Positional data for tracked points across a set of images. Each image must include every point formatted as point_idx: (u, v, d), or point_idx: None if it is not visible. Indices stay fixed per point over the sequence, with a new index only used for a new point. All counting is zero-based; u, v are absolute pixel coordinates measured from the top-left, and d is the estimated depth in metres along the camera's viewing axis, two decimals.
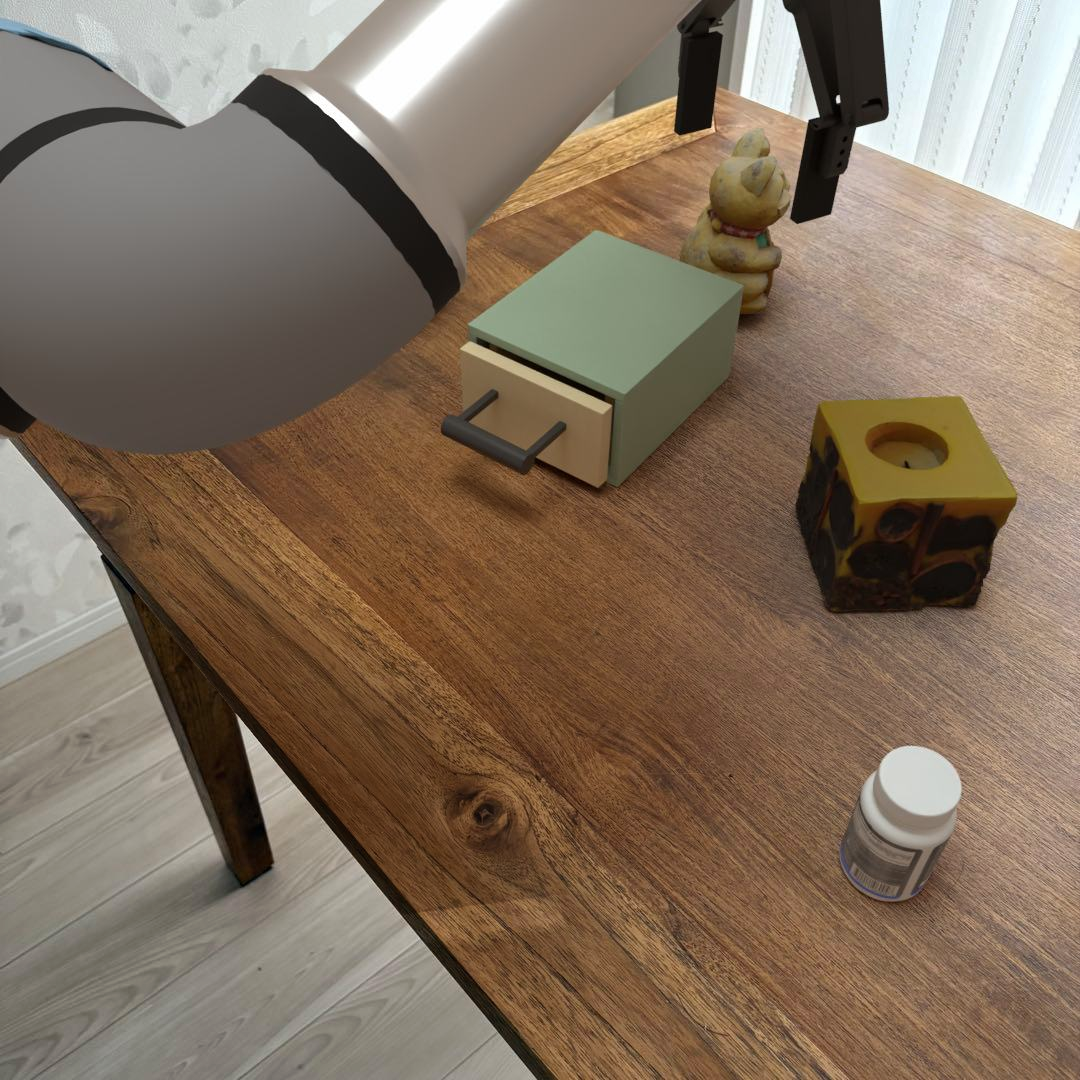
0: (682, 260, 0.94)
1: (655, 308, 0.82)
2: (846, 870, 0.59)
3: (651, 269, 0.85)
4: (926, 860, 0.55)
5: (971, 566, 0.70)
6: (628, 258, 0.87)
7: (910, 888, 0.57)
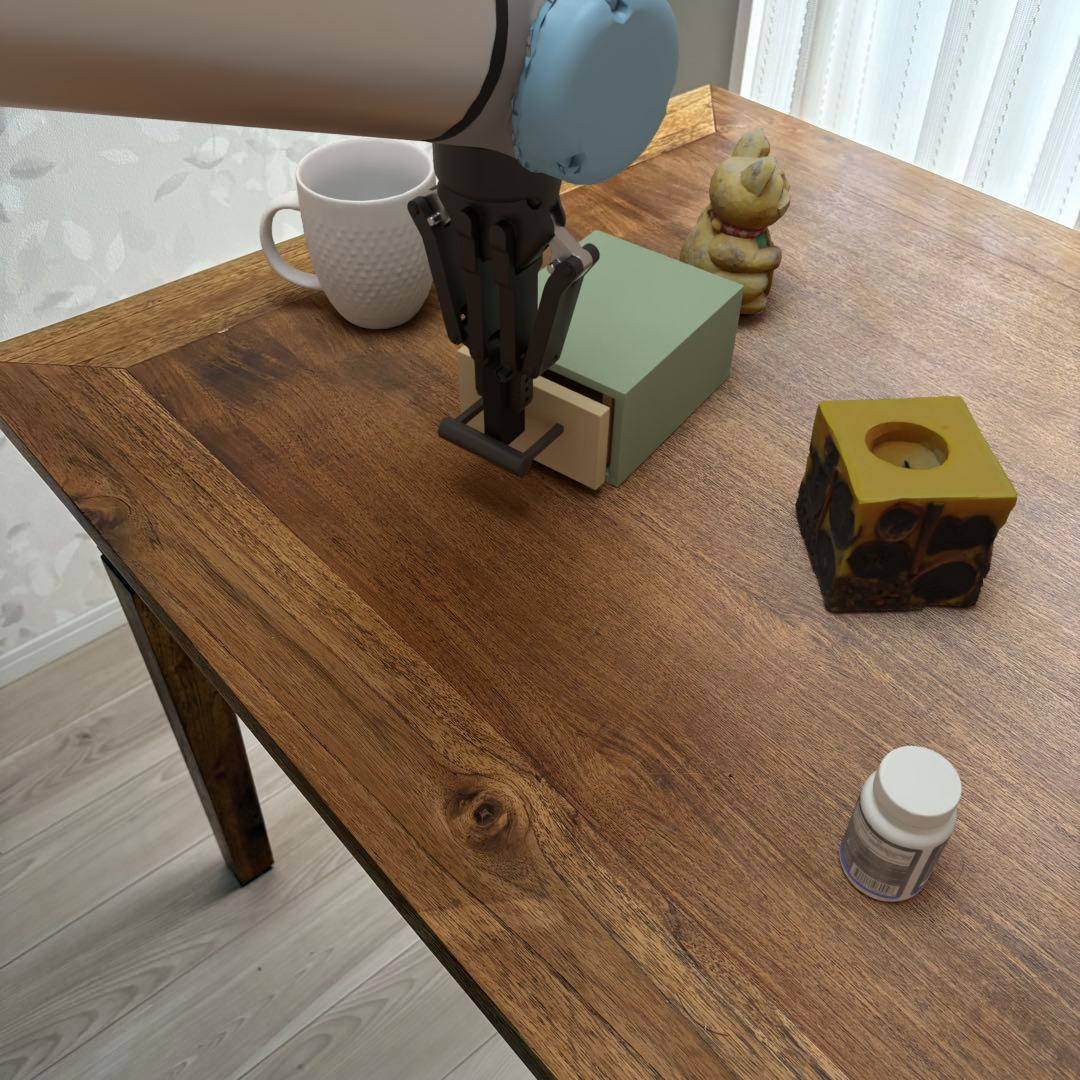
0: (682, 260, 0.94)
1: (655, 308, 0.82)
2: (846, 870, 0.59)
3: (651, 269, 0.85)
4: (926, 860, 0.55)
5: (972, 566, 0.70)
6: (628, 258, 0.87)
7: (910, 888, 0.57)
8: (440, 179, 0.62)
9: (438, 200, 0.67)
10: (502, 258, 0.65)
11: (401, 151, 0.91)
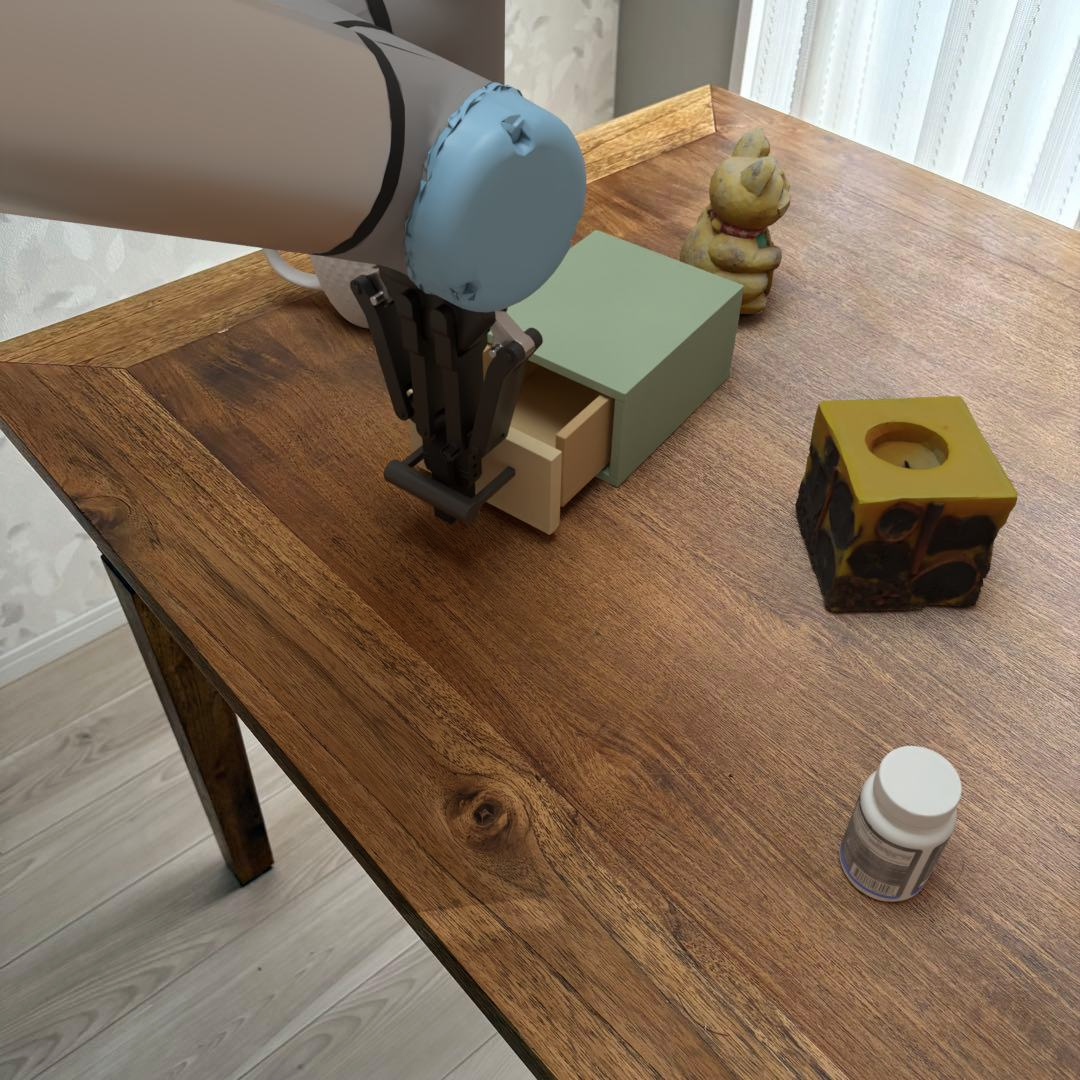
0: (682, 260, 0.94)
1: (655, 308, 0.82)
2: (846, 870, 0.59)
3: (651, 269, 0.85)
4: (926, 860, 0.55)
5: (972, 566, 0.70)
6: (628, 258, 0.87)
7: (910, 888, 0.57)
8: (378, 265, 0.61)
9: (381, 280, 0.66)
10: (444, 341, 0.64)
11: None
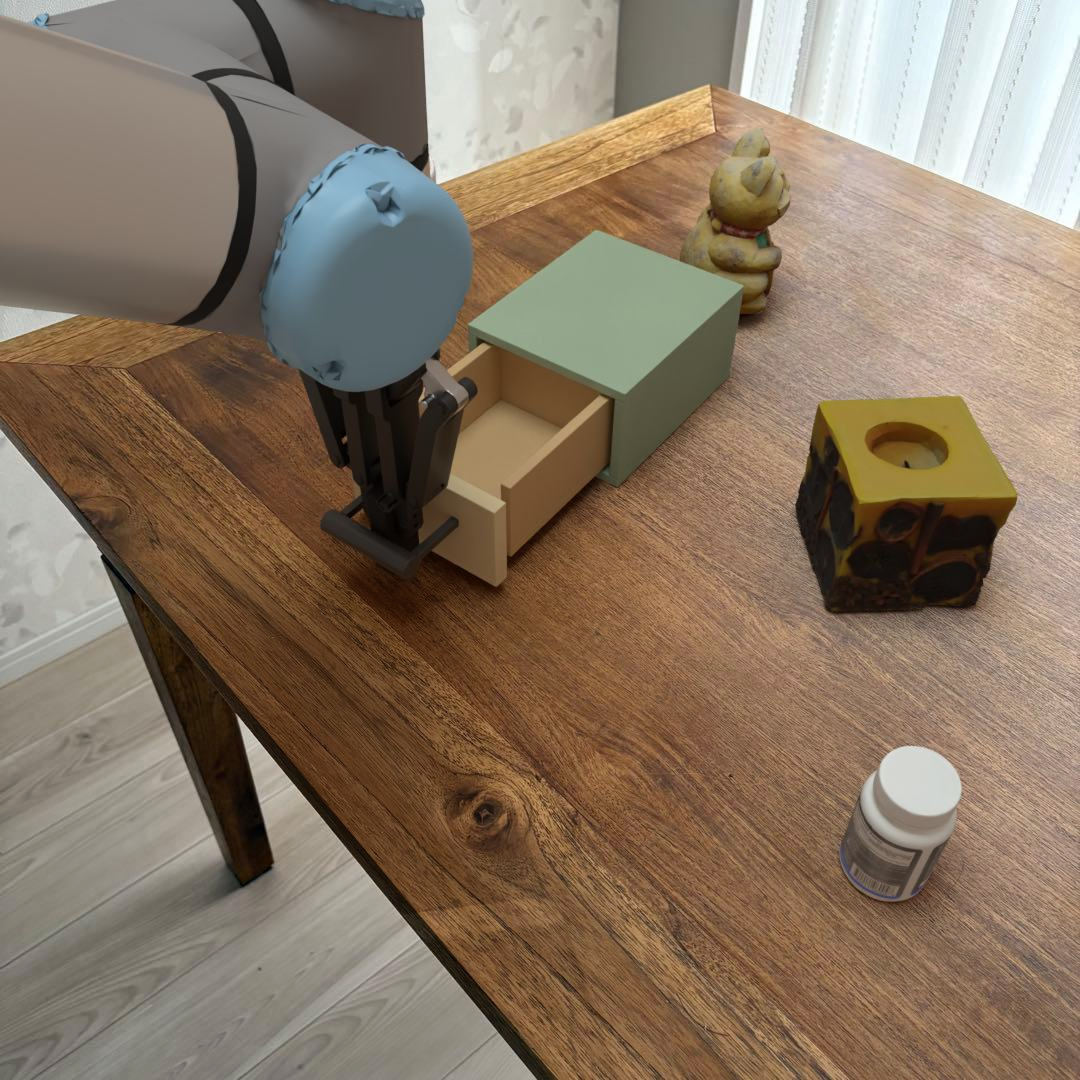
0: (682, 260, 0.94)
1: (655, 308, 0.82)
2: (846, 870, 0.59)
3: (651, 269, 0.85)
4: (926, 860, 0.55)
5: (972, 565, 0.70)
6: (628, 258, 0.87)
7: (910, 888, 0.57)
8: None
9: None
10: (374, 391, 0.60)
11: None
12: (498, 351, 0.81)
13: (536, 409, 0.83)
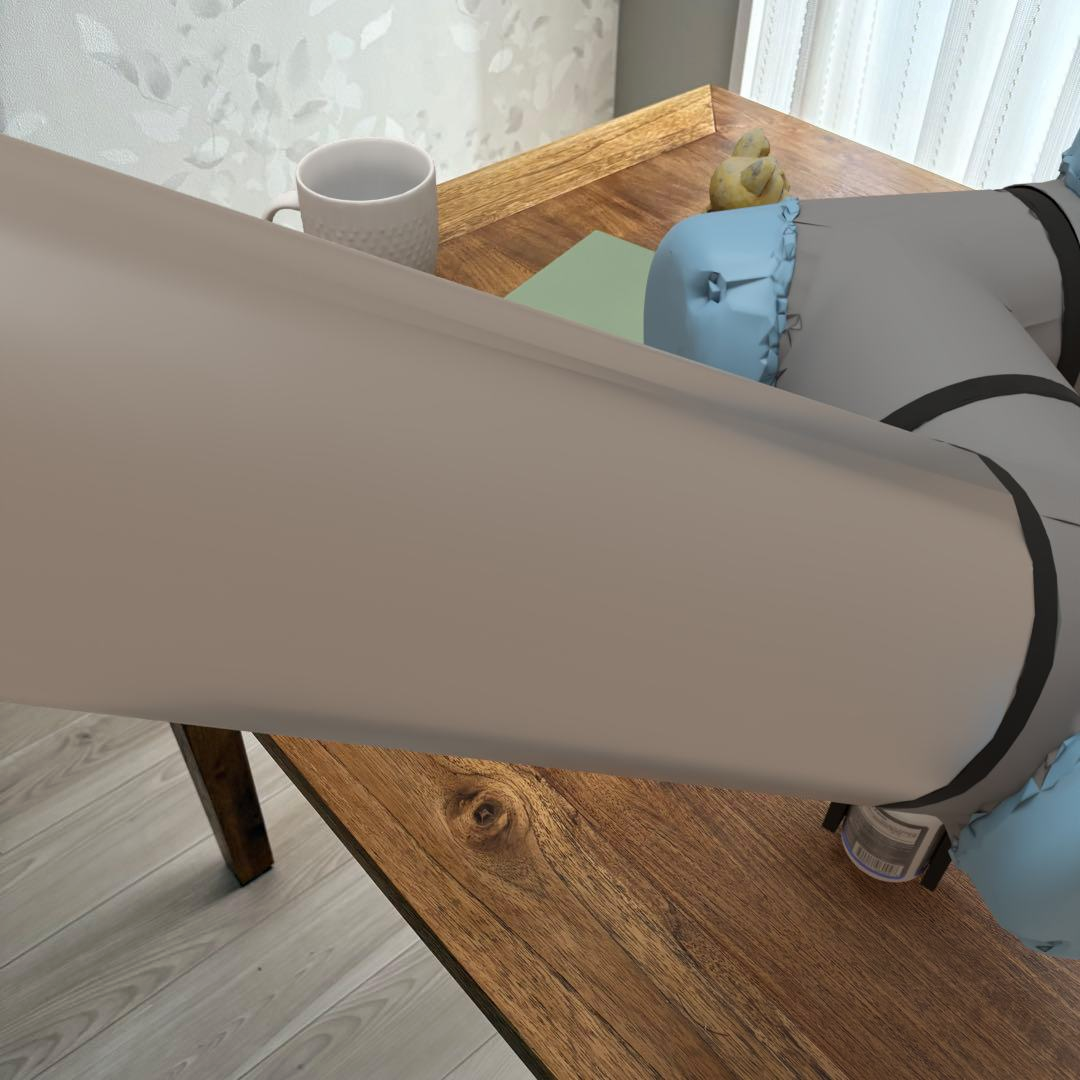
0: None
1: None
2: (848, 849, 0.57)
3: None
4: (931, 838, 0.54)
5: None
6: (628, 258, 0.87)
7: (914, 867, 0.56)
8: None
9: None
10: None
11: (401, 151, 0.91)
12: None
13: None
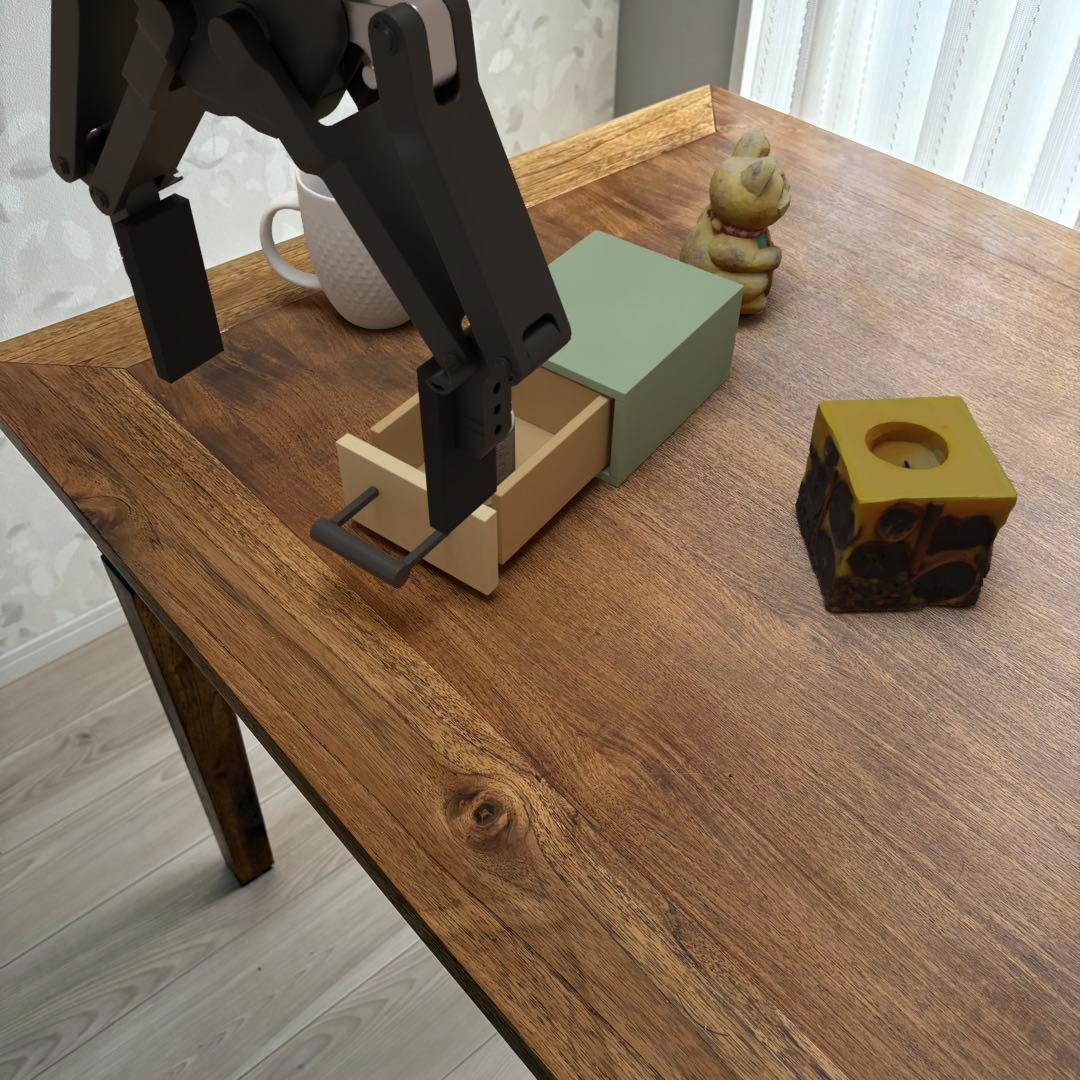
0: (682, 260, 0.94)
1: (655, 308, 0.82)
2: None
3: (651, 269, 0.85)
4: None
5: (972, 565, 0.70)
6: (628, 258, 0.87)
7: None
8: None
9: None
10: (270, 95, 0.29)
11: None
12: None
13: (529, 415, 0.82)
